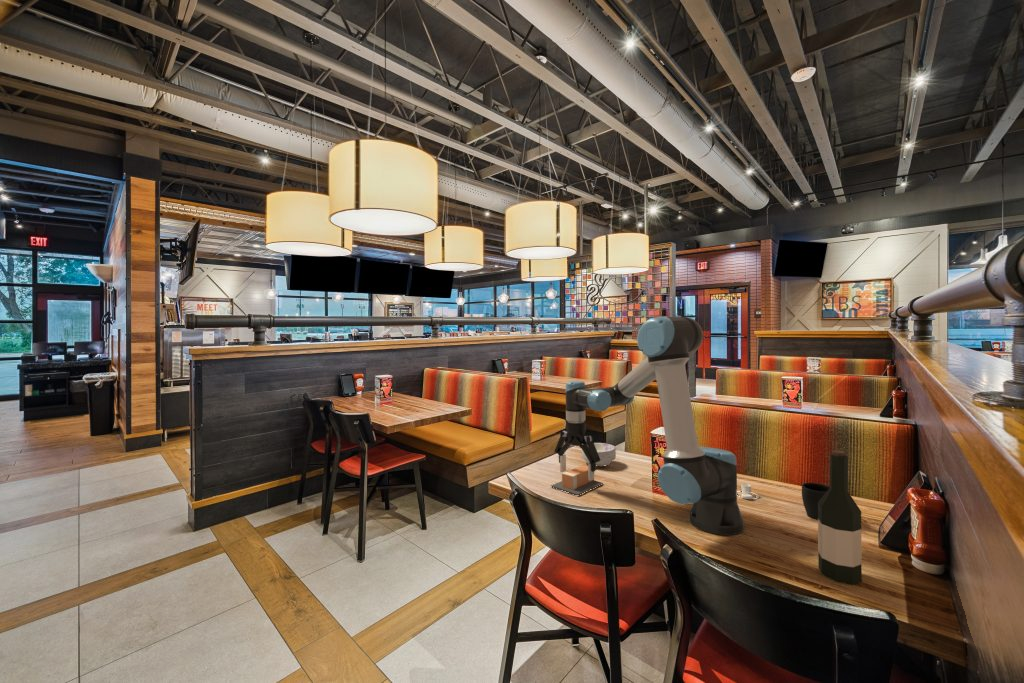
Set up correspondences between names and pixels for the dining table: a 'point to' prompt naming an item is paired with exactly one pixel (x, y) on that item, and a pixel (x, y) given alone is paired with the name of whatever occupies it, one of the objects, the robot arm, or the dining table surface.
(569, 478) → the orange wooden block
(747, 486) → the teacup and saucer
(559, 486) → the mat
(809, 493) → the mug
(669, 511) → the dining table surface
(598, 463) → the grey bowl
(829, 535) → the wine bottle
